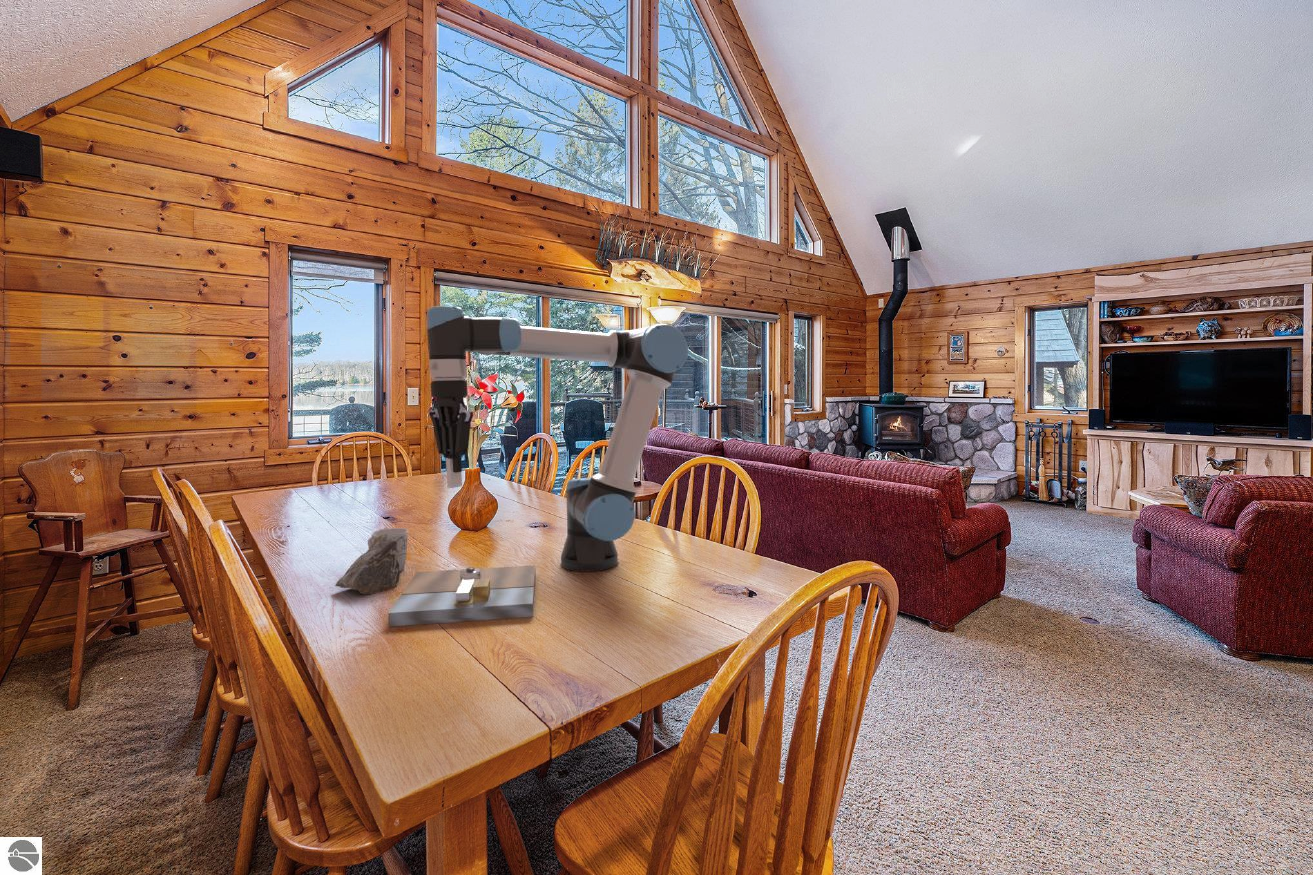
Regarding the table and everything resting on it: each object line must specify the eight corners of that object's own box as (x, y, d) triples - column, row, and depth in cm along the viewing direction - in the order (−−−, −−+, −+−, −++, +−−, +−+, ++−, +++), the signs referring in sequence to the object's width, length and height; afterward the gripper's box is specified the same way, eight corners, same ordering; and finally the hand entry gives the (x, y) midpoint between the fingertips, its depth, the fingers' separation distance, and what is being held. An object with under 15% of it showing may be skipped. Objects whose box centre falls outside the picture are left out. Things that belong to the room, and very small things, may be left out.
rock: (348, 591, 131) (363, 525, 136) (332, 593, 135) (347, 529, 141) (398, 598, 139) (411, 536, 145) (381, 600, 144) (394, 539, 150)
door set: (535, 576, 147) (535, 553, 146) (532, 616, 122) (532, 588, 121) (417, 583, 142) (416, 559, 141) (388, 626, 117) (387, 597, 116)
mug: (356, 571, 151) (355, 533, 150) (383, 562, 159) (381, 525, 158) (390, 577, 146) (388, 537, 145) (416, 567, 154) (414, 529, 153)
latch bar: (462, 580, 135) (461, 566, 134) (482, 579, 135) (481, 565, 135) (451, 602, 121) (451, 586, 121) (473, 601, 122) (473, 585, 122)
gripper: (416, 380, 129) (422, 486, 131) (451, 379, 121) (457, 492, 123) (446, 379, 135) (452, 481, 137) (481, 378, 127) (487, 486, 129)
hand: (454, 486), depth 130 cm, fingers closed
